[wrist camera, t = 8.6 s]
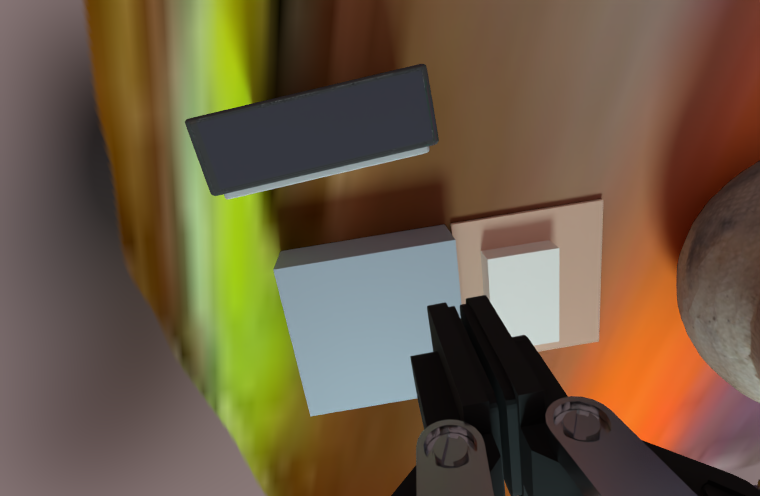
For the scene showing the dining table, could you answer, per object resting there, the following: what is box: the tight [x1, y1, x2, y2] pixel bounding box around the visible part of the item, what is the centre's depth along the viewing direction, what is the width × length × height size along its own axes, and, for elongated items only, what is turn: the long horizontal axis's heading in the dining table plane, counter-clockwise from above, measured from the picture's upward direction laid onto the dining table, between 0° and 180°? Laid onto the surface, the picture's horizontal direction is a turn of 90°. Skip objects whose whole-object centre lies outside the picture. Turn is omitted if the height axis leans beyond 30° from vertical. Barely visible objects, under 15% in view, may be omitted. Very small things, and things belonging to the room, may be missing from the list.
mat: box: [450, 199, 603, 352], centre depth 40 cm, size 14×13×1 cm
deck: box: [274, 224, 461, 416], centre depth 38 cm, size 14×14×4 cm
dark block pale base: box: [185, 64, 439, 199], centre depth 27 cm, size 11×4×15 cm, turn 102°
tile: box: [481, 240, 559, 346], centre depth 39 cm, size 9×6×2 cm, turn 8°
